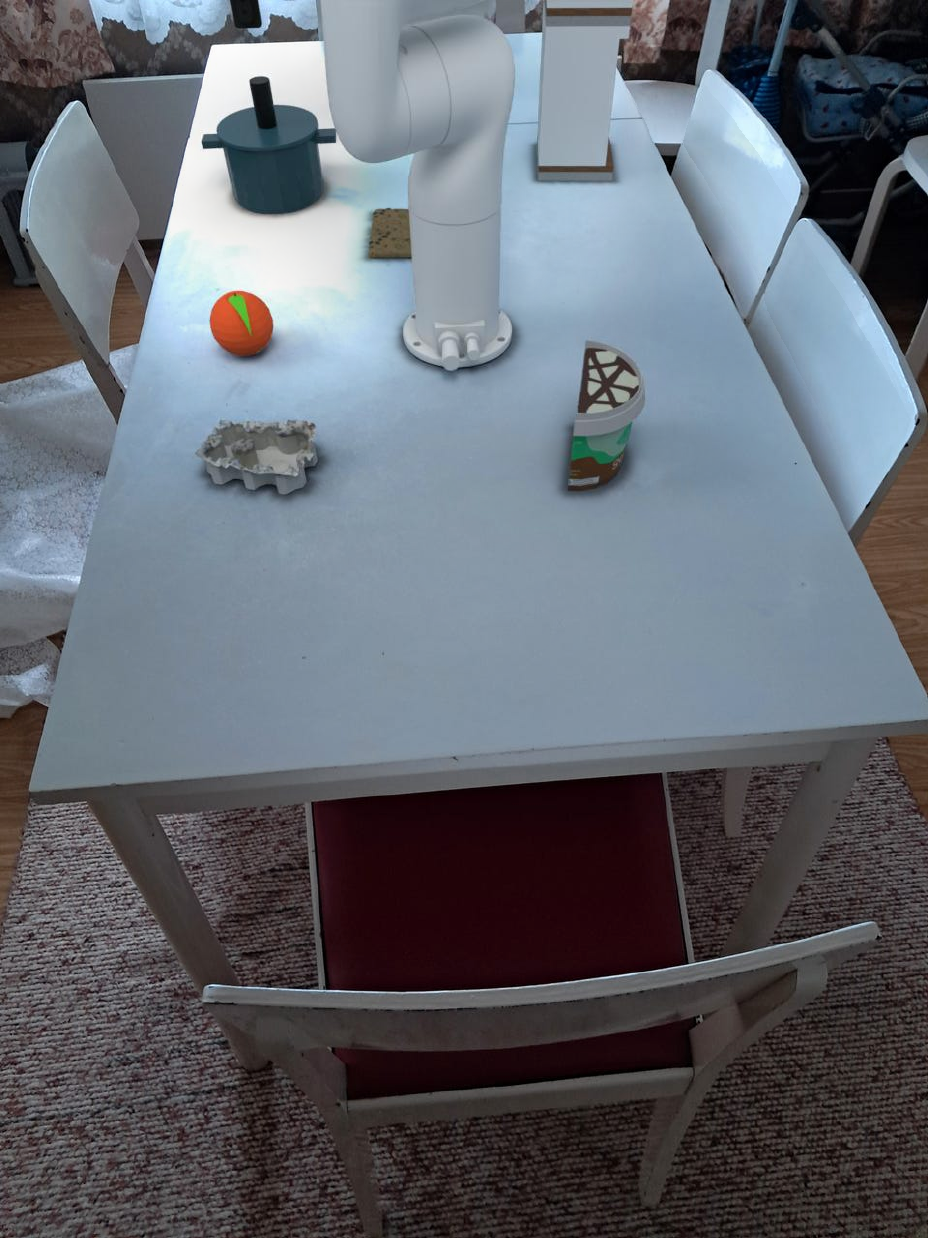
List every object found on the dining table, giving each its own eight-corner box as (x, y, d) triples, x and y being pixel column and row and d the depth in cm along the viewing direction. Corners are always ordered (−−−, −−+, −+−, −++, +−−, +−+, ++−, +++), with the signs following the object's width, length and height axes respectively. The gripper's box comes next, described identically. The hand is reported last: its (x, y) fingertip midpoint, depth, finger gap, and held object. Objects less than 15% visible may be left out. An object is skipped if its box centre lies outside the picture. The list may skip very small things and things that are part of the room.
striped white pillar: (612, 180, 125) (649, -138, 97) (537, 180, 125) (554, -137, 98) (606, 145, 132) (639, -160, 104) (536, 145, 132) (551, -159, 105)
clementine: (289, 363, 98) (278, 306, 92) (230, 380, 96) (215, 323, 91) (267, 327, 103) (255, 270, 97) (210, 342, 101) (194, 286, 95)
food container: (630, 507, 83) (646, 423, 75) (566, 500, 83) (575, 417, 76) (635, 425, 90) (650, 341, 83) (576, 420, 91) (585, 336, 83)
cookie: (367, 257, 112) (366, 250, 111) (374, 212, 119) (373, 205, 119) (460, 257, 112) (460, 250, 111) (461, 211, 119) (461, 204, 119)
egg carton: (326, 453, 88) (321, 421, 85) (297, 503, 84) (290, 471, 81) (231, 435, 90) (222, 402, 87) (197, 482, 86) (186, 450, 83)
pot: (341, 210, 120) (333, 146, 114) (211, 216, 120) (195, 152, 113) (343, 169, 128) (335, 106, 121) (220, 175, 127) (206, 112, 121)
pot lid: (317, 153, 114) (309, 98, 108) (212, 158, 113) (200, 103, 108) (320, 110, 122) (313, 57, 117) (223, 115, 122) (212, 62, 116)
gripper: (248, -156, 88) (278, 38, 101) (261, -192, 99) (287, -12, 112) (174, -154, 88) (213, 40, 101) (195, -190, 98) (228, -10, 112)
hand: (252, 12), depth 107 cm, fingers open, 9 cm apart
